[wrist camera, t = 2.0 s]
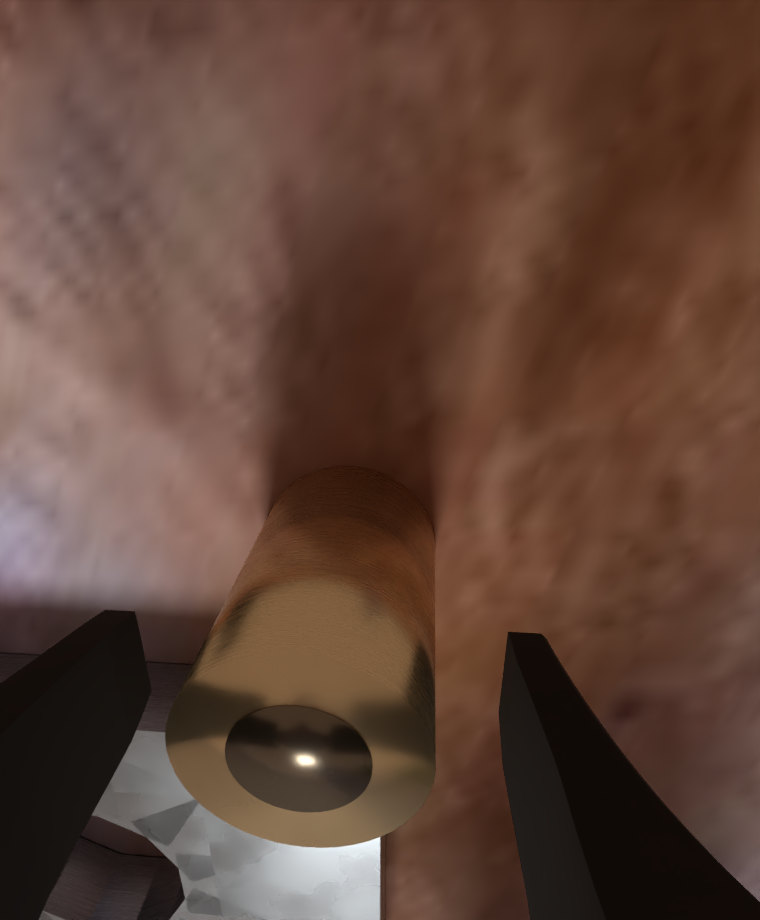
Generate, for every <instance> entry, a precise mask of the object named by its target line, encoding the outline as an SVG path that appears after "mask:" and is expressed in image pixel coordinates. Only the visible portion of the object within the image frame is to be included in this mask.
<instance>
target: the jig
mask: <svg viewBox="0 0 760 920" xmlns="http://www.w3.org/2000/svg"><path fill="white" fill-rule="evenodd" d="M37 657H39V656H38V655H22V654H6V653H0V683H2V682H3V681H4V680H6V679H7V678H9V677H10V676H12V675H13V674H14V673H16V672H17V671H19V670H20V669H21V668H23V667H24V666H26V665H27V664H29V663H30V662H31V661H33V660H34V659H36V658H37ZM146 665H147V670H148V674H149V679H150V684H151V688H152V691H151V694H150V696H149V699H148V702H147V704H146V707H145V710H144V712H143V715H142V718H141V720H140V722H139V725H138V727H137V730H136V732H135V734H134V737H133V739H132V742H131V743H130V745H129V747H128V749H127V751H126V753H125V755H124V757H123V759H122V760H121V762H120V764H119V766H118V768H117V770H116V772H115V773H114V775H113V777H112V779H111V781H110V783H109V785H108V786H107V788H106V790H105V792H104V794H103V795H102V797H101V799H100V801H99V803H98V804H97V806H96V808H95V810H94V812H93V814H92V816H98V817H101V818H103V819H105V820H108V821H110V822H112V823H115V824H117V825H119V826H122V827H124V828H126V829H129V830H131V831H133V832H136V833H138V834H140V835H143V836H145V837H147V838H148V839H149V840H150V841H151V842H152V843H153V844H154V845H155V846H156V847H157V848H158V849H159V850H160V851H161V852H162V853H163V854H164V855H165V856H166V857H163V858H157V857H146V856H134V855H123V854H119V853H116V852H114V851H112V850H109V849H107V848H105V847H102V846H100V845H97V844H95V843H93V842H90V841H88V840H86V839H83V838H81V837H79V839H78V841H77V843H76V844H75V846H74V848H73V850H72V852H71V854H70V855H69V857H68V859H67V861H66V863H65V865H64V867H63V869H62V871H61V873H60V875H59V877H58V879H57V881H56V883H55V885H54V887H53V889H52V891H51V893H50V895H49V898H48V900H47V902H46V904H45V907H44V909H43V911H42V913H41V916H40V918H39V920H385V877H386V835H384V836H382V837H379V838H376V839H373V840H370V841H367V842H363V843H359V844H355V845H349V846H342V847H328V848H315V847H301V846H293V845H287V844H282V843H277V842H273V841H270V840H266V839H263V838H260V837H257V836H254V835H252V834H249V833H246V832H244V831H242V830H240V829H238V828H236V827H234V826H232V825H230V824H228V823H226V822H225V821H223V820H221V819H220V818H218V817H216V816H215V815H214V814H212V813H211V812H210V811H208V810H207V809H206V808H204V807H203V806H202V805H201V804H200V803H199V802H198V801H197V800H196V799H194V798H193V797H192V795H191V794H190V793H189V792H188V791H187V790H186V788H185V787H184V786H183V785H182V783H181V782H180V780H179V779H178V777H177V775H176V774H175V772H174V770H173V767H172V765H171V763H170V760H169V757H168V754H167V750H166V742H165V730H166V723H167V719H168V715H169V712H170V710H171V708H172V706H173V704H174V701H175V699H176V697H177V696H178V694H179V692H180V690H181V688H182V686H183V684H184V682H185V680H186V678H187V676H188V674H189V672H190V670H191V668H192V666H193V665H184V664H167V663H151V662H146Z"/></svg>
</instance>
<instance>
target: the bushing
mask: <svg viewBox="0 0 760 920" xmlns="http://www.w3.org/2000/svg"><path fill="white" fill-rule="evenodd" d="M165 742H166V750H167V754H168V757H169V760H170V763H171V765H172V767H173V770H174V772H175V774H176V775H177V777H178V779H179V780H180V782H181V783H182V785H183V786H184V787H185V788H186V790H187V791H188V792H189V793H190V794H191V795H192V797H193V798H194V799H196V800H197V801H198V802H199V803H200V804H201V805H202V806H203V807H204V808H206V809H207V810H208V811H210V812H211V813H212V814H214V815H215V816H216V817H218V818H220V819H221V820H223V821H225V822H226V823H228V824H230V825H232V826H234V827H236V828H238V829H240V830H242V831H244V832H246V833H249V834H252V835H254V836H257V837H260V838H263V839H266V840H270V841H273V842H277V843H282V844H287V845H293V846H301V847H315V848H328V847H342V846H349V845H355V844H359V843H363V842H367V841H370V840H373V839H376V838H379V837H382V836H384V835H386V834H388V833H390V832H392V831H394V830H395V829H397V828H398V827H400V826H402V825H403V824H405V823H406V822H407V821H408V820H409V819H410V818H412V817H413V816H414V815H415V814H416V813H417V812H418V810H419V809H420V808H421V807H422V806H423V804H424V803H425V801H426V799H427V797H428V796H429V794H430V791H431V788H432V785H433V783H434V777H435V770H436V759H435V540H434V532H433V527H432V524H431V521H430V518H429V516H428V514H427V512H426V510H425V509H424V507H423V506H422V504H421V503H420V501H419V500H418V499H417V498H416V497H415V496H414V495H413V494H412V492H410V491H409V490H408V489H407V488H406V487H404V486H403V485H402V484H400V483H399V482H397V481H396V480H394V479H392V478H390V477H388V476H386V475H384V474H382V473H379V472H376V471H373V470H370V469H365V468H360V467H350V466H340V467H331V468H325V469H321V470H317V471H314V472H312V473H309V474H307V475H305V476H303V477H301V478H300V479H298V480H296V481H295V482H294V483H292V484H291V485H290V486H289V487H287V488H286V489H285V491H284V492H283V493H282V494H281V495H280V496H279V498H278V499H277V501H276V502H275V504H274V506H273V508H272V510H271V512H270V514H269V516H268V518H267V520H266V522H265V524H264V526H263V528H262V530H261V532H260V534H259V536H258V538H257V540H256V542H255V543H254V545H253V547H252V549H251V551H250V553H249V555H248V557H247V559H246V561H245V563H244V565H243V567H242V569H241V571H240V573H239V575H238V577H237V579H236V581H235V583H234V585H233V587H232V589H231V591H230V593H229V595H228V597H227V599H226V601H225V603H224V605H223V607H222V609H221V611H220V613H219V615H218V617H217V619H216V620H215V622H214V624H213V626H212V628H211V630H210V632H209V634H208V636H207V638H206V640H205V642H204V644H203V646H202V648H201V650H200V652H199V654H198V656H197V658H196V660H195V662H194V664H193V666H192V668H191V670H190V672H189V674H188V676H187V678H186V680H185V682H184V684H183V686H182V688H181V690H180V692H179V694H178V696H177V697H176V699H175V701H174V704H173V706H172V708H171V710H170V712H169V715H168V719H167V723H166V730H165Z"/></svg>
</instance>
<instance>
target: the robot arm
mask: <svg viewBox="0 0 760 920" xmlns="http://www.w3.org/2000/svg"><path fill="white" fill-rule="evenodd" d="M151 691H152V688H151V684H150V679H149V674H148V670H147V665H146V660H145V656H144V651H143V646H142V642H141V637H140V633H139V628H138V623H137V619H136V614H135V612H132V611H113V610H104V611H103V612H101V613H100V614H98V615H97V616H95V617H94V618H92V619H91V620H89V621H88V622H86V623H85V624H83V625H82V626H81V627H79V628H78V629H76V630H75V631H74V632H72V633H71V634H69V635H68V636H67V637H65V638H64V639H62V640H61V641H60V642H58V643H57V644H55V645H54V646H53V647H51V648H50V649H48V650H47V651H46V652H44V653H43V654H41V655H40V656H39V657H37V658H36V659H34V660H33V661H31V662H30V663H29V664H27V665H26V666H24V667H23V668H21V669H20V670H19V671H17V672H16V673H14V674H13V675H12V676H10V677H9V678H7V679H6V680H4V681H3V682H2V683H0V920H39V918H40V916H41V913H42V911H43V909H44V907H45V904H46V902H47V900H48V898H49V895H50V893H51V891H52V889H53V887H54V885H55V883H56V881H57V879H58V877H59V875H60V873H61V871H62V869H63V867H64V865H65V863H66V861H67V859H68V857H69V855H70V854H71V852H72V850H73V848H74V846H75V844H76V843H77V841H78V839H79V837H80V835H81V834H82V832H83V830H84V828H85V826H86V824H87V823H88V821H89V819H90V817H91V815H92V814H93V812H94V810H95V808H96V806H97V804H98V803H99V801H100V799H101V797H102V795H103V794H104V792H105V790H106V788H107V786H108V785H109V783H110V781H111V779H112V777H113V775H114V773H115V772H116V770H117V768H118V766H119V764H120V762H121V760H122V759H123V757H124V755H125V753H126V751H127V749H128V747H129V745H130V743H131V742H132V739H133V737H134V734H135V732H136V730H137V727H138V725H139V722H140V720H141V718H142V715H143V712H144V710H145V707H146V704H147V702H148V699H149V696H150V694H151ZM499 722H500V736H501V749H502V760H503V770H504V775H505V781H506V786H507V792H508V797H509V803H510V808H511V814H512V819H513V824H514V830H515V835H516V840H517V846H518V851H519V857H520V862H521V867H522V873H523V878H524V883H525V889H526V894H527V899H528V906H529V913H530V919H531V920H760V902H759V901H758V900H757V899H756V898H755V897H754V896H753V895H752V894H751V893H750V892H749V891H748V890H747V889H746V888H744V887H743V886H742V885H741V884H740V883H739V882H738V881H737V880H736V879H735V878H734V877H733V876H732V875H731V874H730V873H729V872H728V871H727V870H726V869H725V868H724V867H723V866H722V865H721V864H720V863H719V862H718V861H717V860H716V859H715V858H714V857H713V856H712V855H711V854H710V853H709V852H708V851H707V850H706V849H705V848H704V846H703V845H702V844H701V843H700V842H699V841H698V840H697V839H696V838H695V837H694V836H693V835H692V834H691V833H690V832H689V831H688V829H687V828H686V827H685V826H684V825H683V824H682V823H681V822H680V821H679V820H678V818H677V817H676V816H675V815H674V814H673V813H672V812H671V811H670V810H669V808H668V807H667V806H666V805H665V804H664V803H663V802H662V800H661V799H660V798H659V797H658V796H657V795H656V793H655V792H654V791H653V790H652V789H651V787H650V786H649V785H648V784H647V783H646V781H645V780H644V779H643V778H642V777H641V775H640V774H639V773H638V771H637V770H636V769H635V768H634V766H633V765H632V764H631V763H630V761H629V760H628V759H627V758H626V756H625V755H624V754H623V753H622V751H621V750H620V749H619V747H618V746H617V745H616V743H615V742H614V741H613V739H612V738H611V737H610V735H609V734H608V733H607V731H606V730H605V728H604V727H603V726H602V724H601V723H600V721H599V720H598V719H597V717H596V716H595V714H594V713H593V712H592V710H591V709H590V707H589V706H588V705H587V703H586V702H585V700H584V699H583V697H582V696H581V694H580V693H579V691H578V690H577V688H576V687H575V685H574V683H573V682H572V680H571V679H570V677H569V676H568V674H567V673H566V671H565V669H564V668H563V666H562V665H561V663H560V661H559V660H558V658H557V656H556V655H555V653H554V651H553V650H552V648H551V646H550V644H549V643H548V641H547V639H546V638H545V637H544V636H543V635H542V634H537V633H519V632H508V637H507V646H506V654H505V663H504V671H503V680H502V689H501V697H500V706H499Z"/></svg>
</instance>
